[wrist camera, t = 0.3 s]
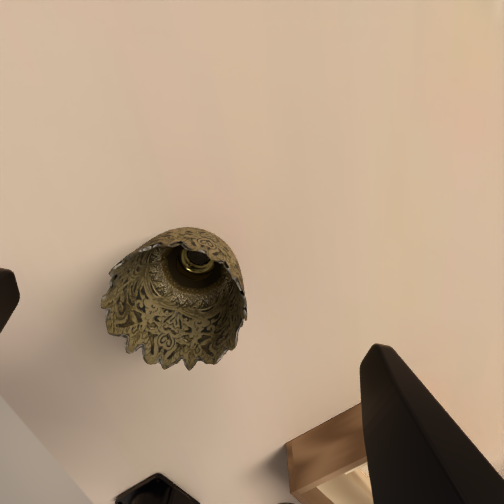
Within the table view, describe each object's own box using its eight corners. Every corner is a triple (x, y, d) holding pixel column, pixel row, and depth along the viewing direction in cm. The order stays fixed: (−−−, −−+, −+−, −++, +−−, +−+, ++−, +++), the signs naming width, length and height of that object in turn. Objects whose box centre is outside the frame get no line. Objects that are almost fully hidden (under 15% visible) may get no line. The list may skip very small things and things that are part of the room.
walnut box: (361, 513, 35) (374, 567, 31) (286, 443, 32) (290, 493, 27) (479, 460, 32) (512, 512, 28) (411, 375, 28) (438, 420, 24)
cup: (226, 312, 26) (213, 390, 19) (135, 277, 25) (84, 344, 18) (266, 230, 24) (271, 282, 16) (167, 186, 23) (123, 221, 15)
